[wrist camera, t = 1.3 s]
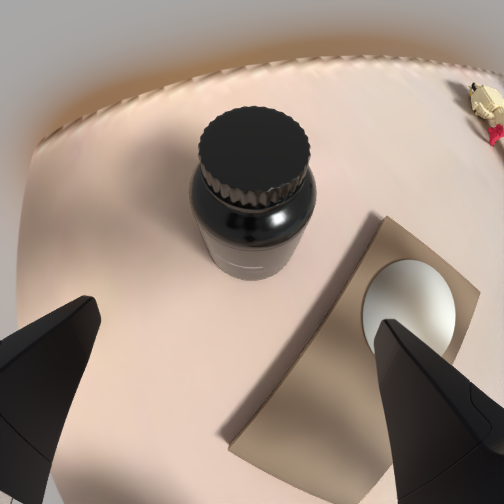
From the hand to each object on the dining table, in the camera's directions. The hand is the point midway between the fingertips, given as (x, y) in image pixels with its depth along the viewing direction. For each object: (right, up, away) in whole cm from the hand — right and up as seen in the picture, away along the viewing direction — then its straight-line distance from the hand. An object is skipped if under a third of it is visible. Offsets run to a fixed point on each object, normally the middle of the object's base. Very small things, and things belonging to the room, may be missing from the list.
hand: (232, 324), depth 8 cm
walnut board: (+10, -7, +11) cm, 17 cm away
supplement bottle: (+1, +3, +15) cm, 15 cm away
